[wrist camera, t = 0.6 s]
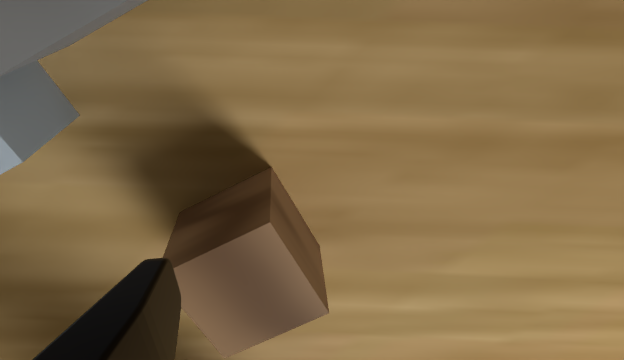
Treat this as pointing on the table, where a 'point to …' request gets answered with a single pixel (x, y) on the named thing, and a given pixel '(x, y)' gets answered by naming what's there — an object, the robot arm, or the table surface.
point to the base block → (50, 26)
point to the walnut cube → (247, 265)
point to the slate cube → (29, 113)
